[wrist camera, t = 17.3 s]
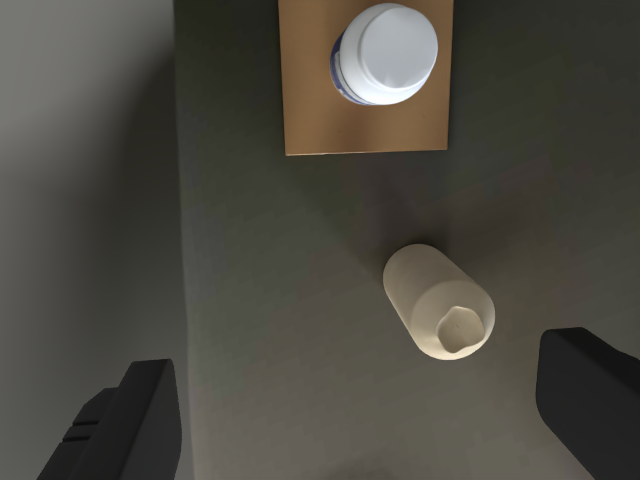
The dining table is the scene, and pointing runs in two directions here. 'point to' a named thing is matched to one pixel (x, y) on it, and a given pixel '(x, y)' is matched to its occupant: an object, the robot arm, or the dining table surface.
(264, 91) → the dining table surface
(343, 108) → the cork mat
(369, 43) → the pill bottle
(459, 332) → the candle
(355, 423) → the dining table surface
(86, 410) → the robot arm
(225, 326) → the dining table surface
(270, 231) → the dining table surface
